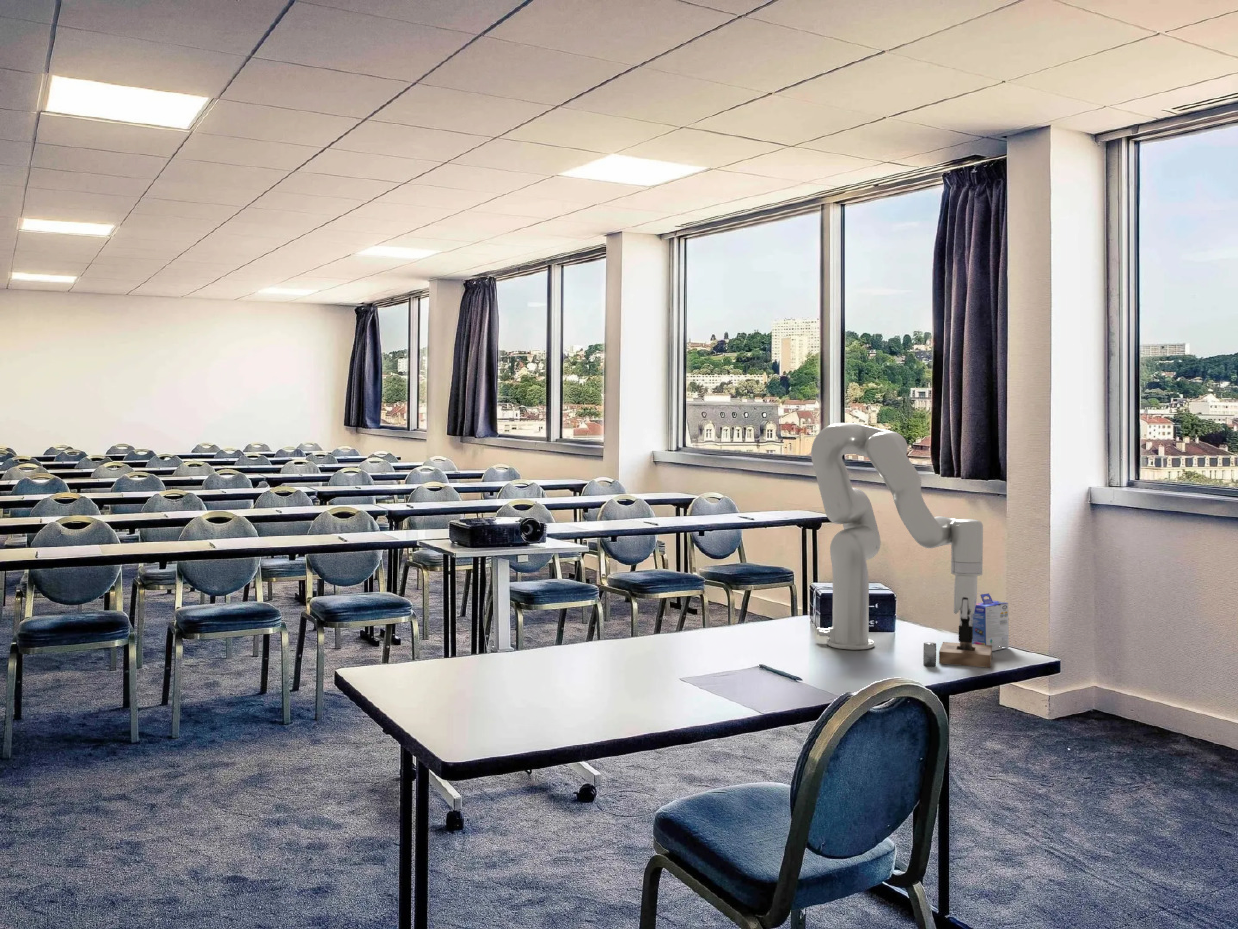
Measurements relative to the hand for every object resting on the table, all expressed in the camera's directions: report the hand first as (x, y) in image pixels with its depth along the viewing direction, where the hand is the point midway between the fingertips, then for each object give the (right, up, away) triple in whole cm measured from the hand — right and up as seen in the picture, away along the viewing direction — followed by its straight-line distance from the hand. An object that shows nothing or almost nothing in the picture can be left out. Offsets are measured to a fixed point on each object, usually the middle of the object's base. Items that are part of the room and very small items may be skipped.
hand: (965, 640), depth 262 cm
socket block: (0, -5, 0) cm, 5 cm away
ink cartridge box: (+11, -5, +13) cm, 18 cm away
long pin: (0, -4, 0) cm, 4 cm away
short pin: (-11, -5, -5) cm, 13 cm away
